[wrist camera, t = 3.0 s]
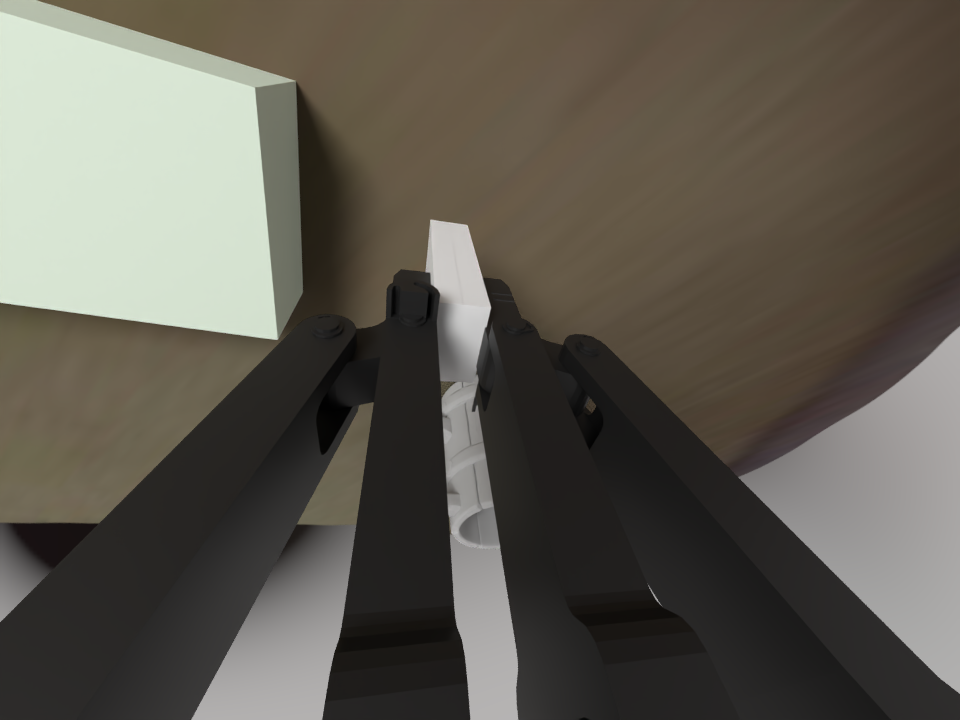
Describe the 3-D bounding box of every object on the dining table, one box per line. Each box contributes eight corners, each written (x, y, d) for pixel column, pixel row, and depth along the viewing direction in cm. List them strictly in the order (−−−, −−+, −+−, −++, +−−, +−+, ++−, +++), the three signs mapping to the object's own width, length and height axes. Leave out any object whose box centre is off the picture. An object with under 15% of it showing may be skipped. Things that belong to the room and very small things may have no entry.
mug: (501, 442, 32) (531, 594, 23) (371, 411, 28) (344, 585, 18) (549, 385, 28) (608, 542, 19) (405, 338, 24) (393, 514, 14)
